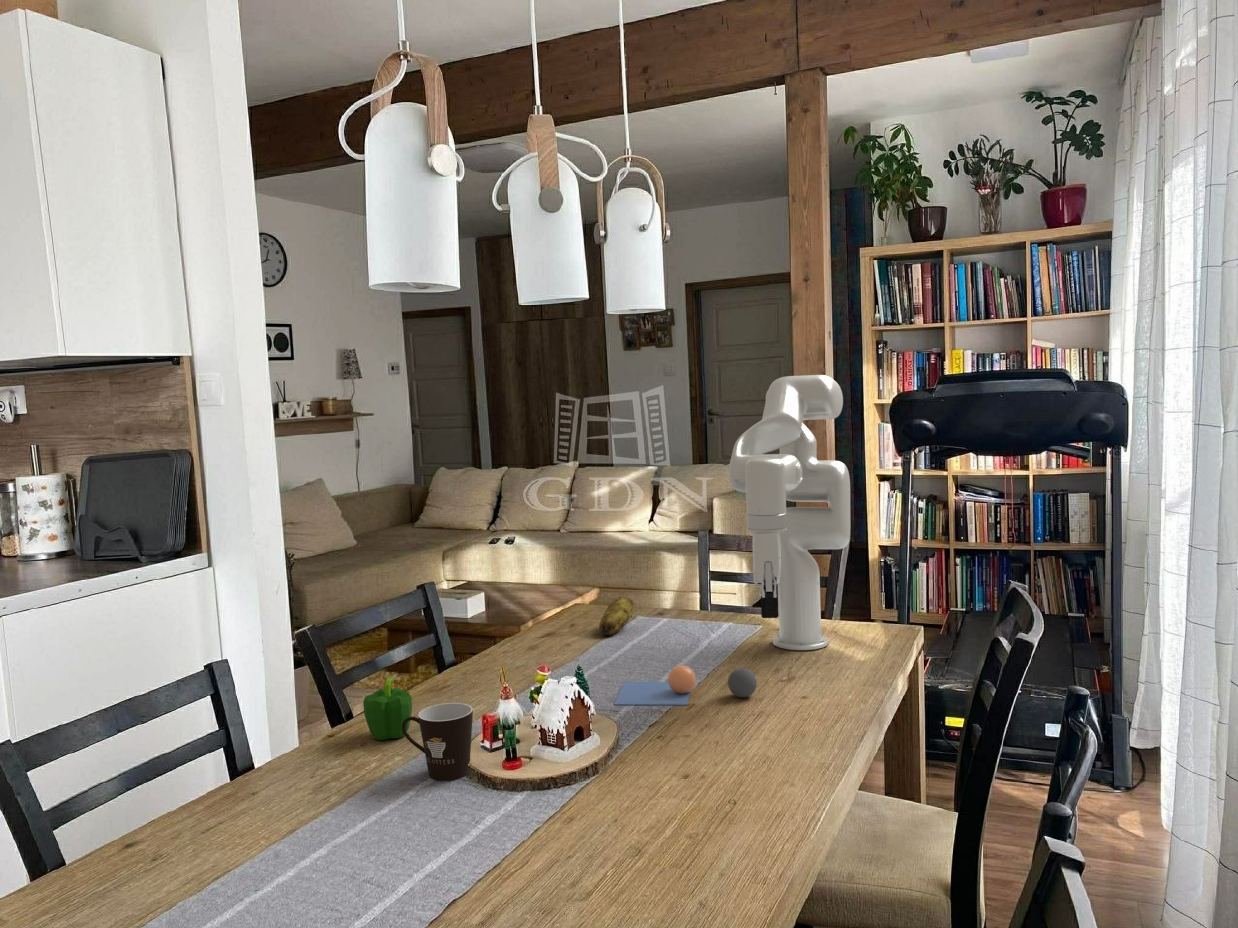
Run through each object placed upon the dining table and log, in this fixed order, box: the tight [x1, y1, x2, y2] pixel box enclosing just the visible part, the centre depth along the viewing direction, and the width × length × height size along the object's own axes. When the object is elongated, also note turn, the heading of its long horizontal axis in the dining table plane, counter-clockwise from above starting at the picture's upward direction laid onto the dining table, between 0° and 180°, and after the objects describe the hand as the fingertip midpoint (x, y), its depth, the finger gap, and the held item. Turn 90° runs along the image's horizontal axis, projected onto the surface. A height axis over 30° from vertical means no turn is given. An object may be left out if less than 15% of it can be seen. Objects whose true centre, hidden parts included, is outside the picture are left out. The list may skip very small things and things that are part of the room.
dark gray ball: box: [727, 667, 758, 698], centre depth 180 cm, size 6×6×6 cm
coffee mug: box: [402, 702, 474, 782], centre depth 150 cm, size 12×9×10 cm
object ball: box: [667, 664, 697, 694], centre depth 184 cm, size 6×6×6 cm
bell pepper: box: [362, 677, 413, 741], centre depth 167 cm, size 8×8×10 cm
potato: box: [598, 596, 635, 636], centre depth 235 cm, size 8×13×8 cm, turn 137°
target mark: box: [614, 681, 691, 706], centre depth 185 cm, size 14×14×1 cm
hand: (769, 616), depth 180 cm, fingers closed
